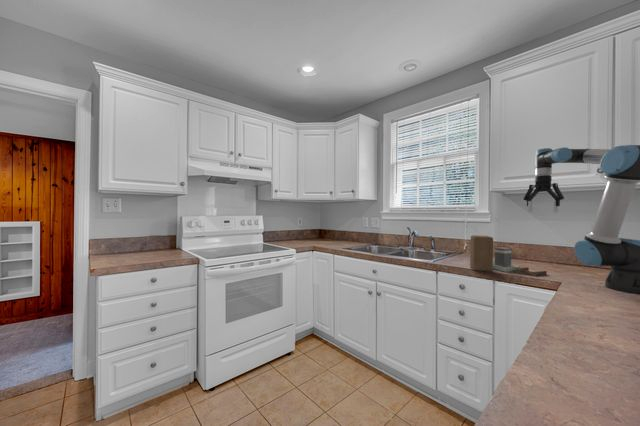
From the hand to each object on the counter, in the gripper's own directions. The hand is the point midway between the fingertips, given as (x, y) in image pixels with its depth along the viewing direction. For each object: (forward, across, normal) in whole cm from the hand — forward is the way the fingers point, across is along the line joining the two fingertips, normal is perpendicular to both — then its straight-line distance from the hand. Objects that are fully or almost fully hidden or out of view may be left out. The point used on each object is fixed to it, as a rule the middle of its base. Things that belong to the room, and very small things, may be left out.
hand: (542, 212), depth 163 cm
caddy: (+34, +11, +17) cm, 40 cm away
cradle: (+35, -2, +12) cm, 37 cm away
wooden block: (+35, +14, +31) cm, 49 cm away
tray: (+35, +11, +17) cm, 40 cm away
